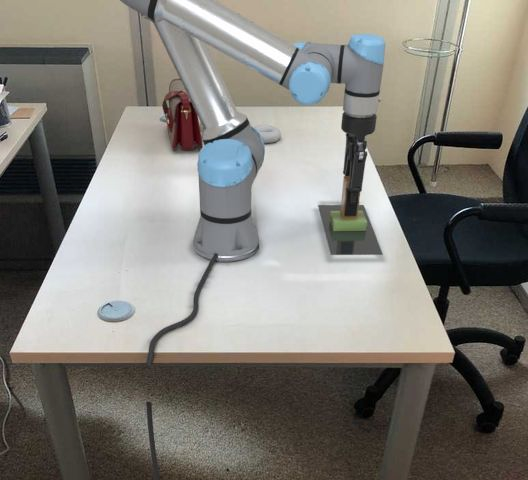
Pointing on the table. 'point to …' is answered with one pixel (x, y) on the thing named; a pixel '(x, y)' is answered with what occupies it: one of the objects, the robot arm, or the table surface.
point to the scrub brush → (347, 222)
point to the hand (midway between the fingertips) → (348, 211)
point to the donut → (269, 133)
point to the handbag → (181, 118)
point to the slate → (349, 236)
